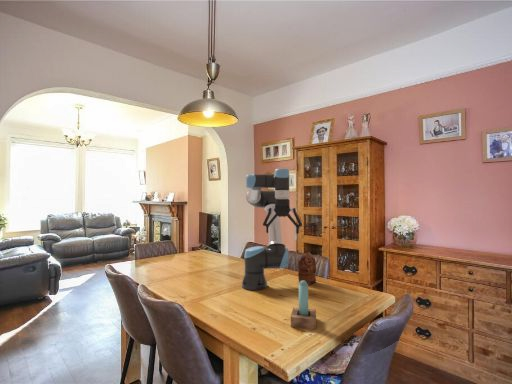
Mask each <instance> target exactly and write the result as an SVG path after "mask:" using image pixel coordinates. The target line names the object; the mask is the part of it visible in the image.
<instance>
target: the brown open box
mask: <svg viewBox="0 0 512 384" xmlns="http://www.w3.org/2000/svg"><path fill="white" fill-rule="evenodd" d="M290 327H291V328H300V329H308V330H309V329H310V330H317V309H316V308H315V309H314V308H308V316H299V307H293V308H292V311H291V315H290Z"/></svg>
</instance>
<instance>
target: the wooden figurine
mask: <svg viewBox="0 0 512 384" xmlns="http://www.w3.org/2000/svg"><path fill="white" fill-rule="evenodd" d="M316 263H317V261H316V259H315V258H314V257H313V255H312V254H309V253H305V254H302V255H301V256H300V258H299V260H298V262H297V268H298V277H297V278H298V285H299V284H300V281H302V280H305V281H306V282H307V284H308V286H310V285H313V284H314V283H315V284H316V283H317V279H316V272H317V267H316Z"/></svg>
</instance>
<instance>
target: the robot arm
mask: <svg viewBox="0 0 512 384" xmlns="http://www.w3.org/2000/svg"><path fill="white" fill-rule="evenodd" d="M245 177H246V178H245V186H246V188H247V189H248V191H247V193H246V196H245V197H246V201H247V202H248V204H250V205H251V206H253V207H255V208H263V209H264V211H265V212H266V217H265V219H264V220H263V223H262V226H264V227H266V231H265V232H266V234H268V235H267V236H268V244H267V245H266V248H265V247H264V246H263V245H262V246H261V245H260V246H259V245H257V246H251V247H247V248H246V249H245V250H244V256H243V257H244V275H243V278H242V280H241V287H242V288H243V289H245V290H247V291H248V290H249V291H261V290H264V289H266V288H267V287H268V281H267V279H266V275H265V270H266V269H267V270H268V269H269V270H270V269H271V270H273V269H274V270H275V269H286V268H287V266H288V265H289V257H290V256H289V255H290V252H289V251H290V250H289V248H286V244H285V243H283V236H282V235H283V233H282V224H281V217H283V218H285V217H287V218H288V219H289V220H290V222H291V223H292V224H293V225H294V241H295V242H296V241H297V238H298V234H299V233H300V227H302V226H303V223H302V221H301V218H300V217H299V214H297V209H296V207H294V208H292V207H290V203H291V202H290V199H289V198H290V177H291V176H290V170H289V168H276V169H275V170H274V173H273V174H271V173H269V174H266V173H264V174H262V173H258V174H256V173H255V174H254V173H252V174H246V176H245ZM262 189H274V190H262ZM290 212H292V213H293V215H294V217H295V219H296V220H295V219H294V218H293V217H292V216H291V214H290Z"/></svg>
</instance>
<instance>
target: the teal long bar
mask: <svg viewBox="0 0 512 384" xmlns="http://www.w3.org/2000/svg"><path fill="white" fill-rule="evenodd" d="M298 308H299V316H308V309H309V285H308V284H307V282H306V281H305V280H302V281H300V284H299V283H298Z"/></svg>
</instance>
